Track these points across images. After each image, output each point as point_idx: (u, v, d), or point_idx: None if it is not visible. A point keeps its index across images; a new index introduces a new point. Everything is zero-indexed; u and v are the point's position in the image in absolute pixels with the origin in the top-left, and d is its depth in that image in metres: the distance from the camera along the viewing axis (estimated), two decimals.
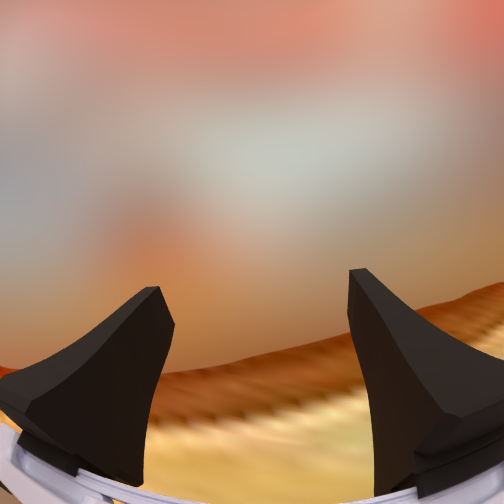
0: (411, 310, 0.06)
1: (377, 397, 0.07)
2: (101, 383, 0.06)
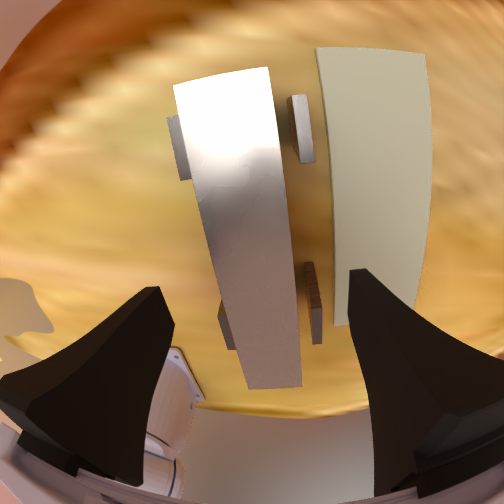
0: (411, 310, 0.06)
1: (377, 397, 0.07)
2: (101, 383, 0.06)
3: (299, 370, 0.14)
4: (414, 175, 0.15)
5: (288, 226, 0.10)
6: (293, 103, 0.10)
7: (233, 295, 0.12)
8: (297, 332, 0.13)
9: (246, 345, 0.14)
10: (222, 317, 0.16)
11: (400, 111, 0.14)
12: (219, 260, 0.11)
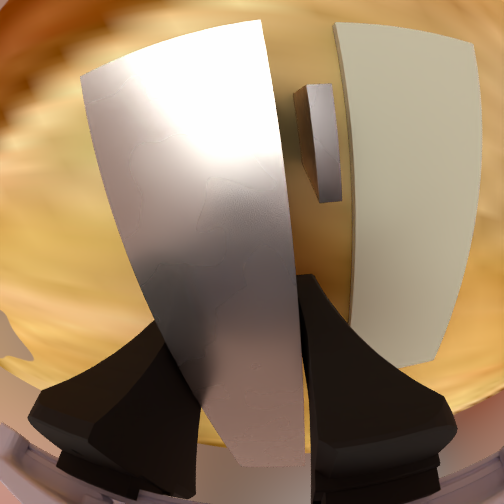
0: (341, 320, 0.07)
1: None
2: (160, 391, 0.06)
3: (302, 456, 0.10)
4: (458, 203, 0.11)
5: (297, 327, 0.06)
6: (309, 99, 0.06)
7: (212, 399, 0.08)
8: (302, 431, 0.08)
9: (235, 438, 0.09)
10: None
11: (447, 117, 0.09)
12: (187, 363, 0.07)
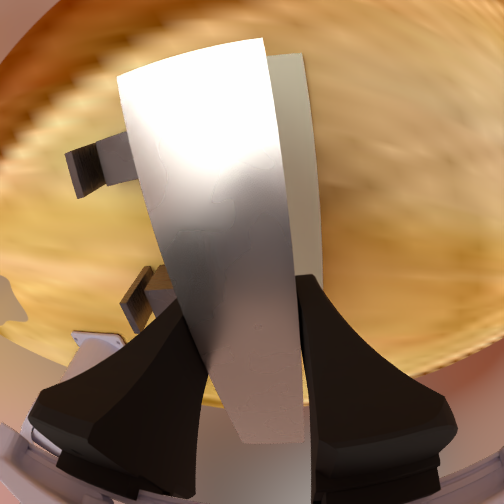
0: (341, 320, 0.07)
1: (310, 406, 0.07)
2: (160, 391, 0.06)
3: (301, 429, 0.11)
4: (296, 176, 0.18)
5: (294, 286, 0.07)
6: None
7: (218, 363, 0.09)
8: (301, 399, 0.10)
9: (238, 408, 0.10)
10: (123, 304, 0.19)
11: None
12: (197, 325, 0.08)
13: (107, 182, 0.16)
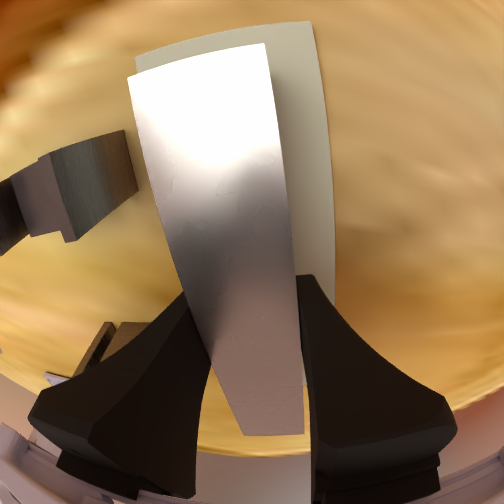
0: (341, 320, 0.07)
1: (310, 406, 0.07)
2: (160, 391, 0.06)
3: (301, 421, 0.12)
4: (301, 218, 0.12)
5: (293, 275, 0.07)
6: (42, 167, 0.07)
7: (221, 352, 0.09)
8: (301, 388, 0.10)
9: (240, 399, 0.11)
10: None
11: None
12: (201, 314, 0.08)
13: (30, 232, 0.10)
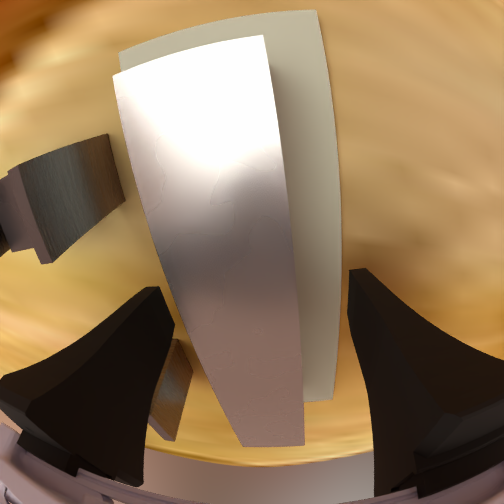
0: (411, 310, 0.06)
1: (377, 397, 0.07)
2: (101, 383, 0.06)
3: (302, 433, 0.11)
4: (305, 232, 0.10)
5: (295, 291, 0.07)
6: (13, 181, 0.06)
7: (217, 368, 0.09)
8: (301, 403, 0.09)
9: (238, 413, 0.10)
10: None
11: None
12: (196, 330, 0.08)
13: (11, 246, 0.08)
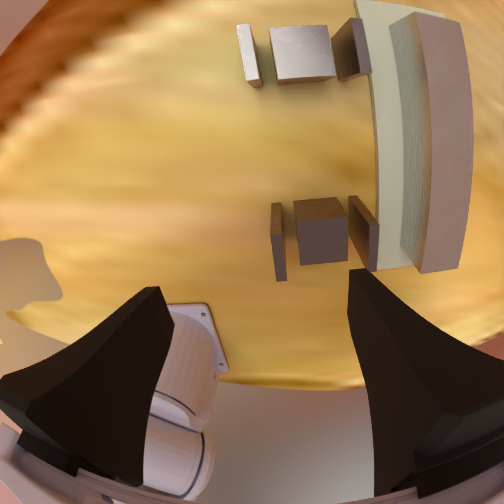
0: (411, 310, 0.06)
1: (377, 397, 0.07)
2: (101, 383, 0.06)
3: (461, 246, 0.15)
4: None
5: (472, 114, 0.11)
6: (351, 24, 0.09)
7: (438, 161, 0.12)
8: (468, 202, 0.13)
9: (436, 214, 0.14)
10: (275, 237, 0.15)
11: None
12: (436, 129, 0.12)
13: (279, 74, 0.12)
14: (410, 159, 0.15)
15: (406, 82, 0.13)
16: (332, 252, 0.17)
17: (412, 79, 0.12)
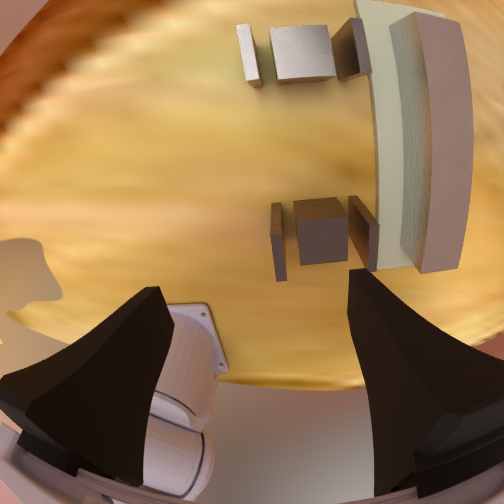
0: (411, 310, 0.06)
1: (377, 397, 0.07)
2: (101, 383, 0.06)
3: (461, 246, 0.15)
4: None
5: (472, 114, 0.11)
6: (351, 24, 0.09)
7: (438, 161, 0.12)
8: (468, 202, 0.13)
9: (436, 214, 0.14)
10: (275, 237, 0.15)
11: None
12: (436, 129, 0.12)
13: (279, 74, 0.12)
14: (410, 159, 0.15)
15: (406, 82, 0.13)
16: (332, 252, 0.17)
17: (412, 79, 0.12)
